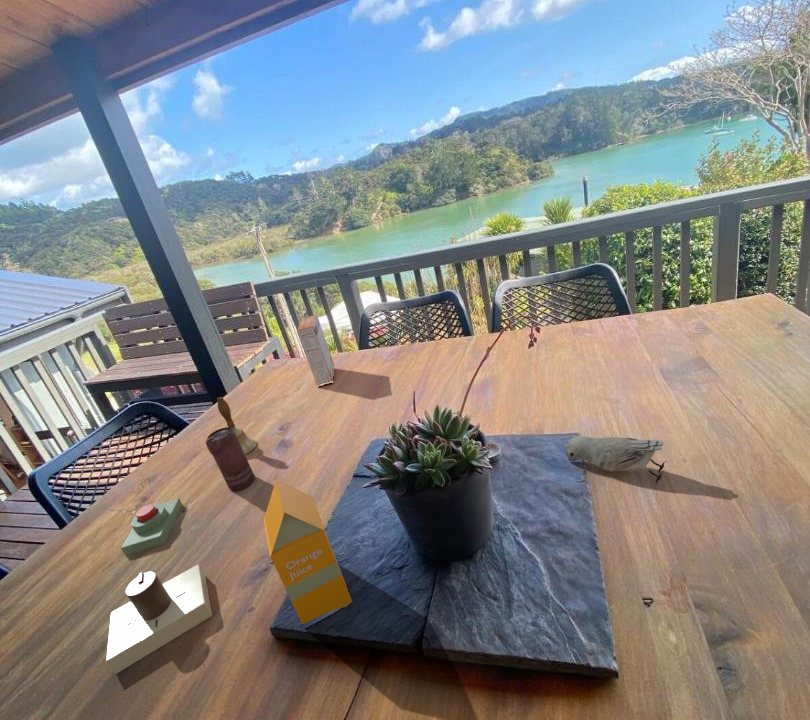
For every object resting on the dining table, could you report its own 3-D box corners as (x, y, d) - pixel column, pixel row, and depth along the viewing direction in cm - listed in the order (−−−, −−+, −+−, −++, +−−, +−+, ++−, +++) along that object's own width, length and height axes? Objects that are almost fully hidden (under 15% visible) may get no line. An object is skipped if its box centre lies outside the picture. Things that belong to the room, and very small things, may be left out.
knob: (171, 609, 68) (154, 583, 66) (141, 626, 67) (123, 600, 64) (170, 590, 72) (155, 564, 70) (142, 605, 70) (125, 580, 68)
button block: (165, 543, 88) (156, 529, 87) (125, 556, 88) (116, 541, 86) (183, 505, 99) (175, 491, 98) (148, 516, 99) (140, 502, 97)
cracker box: (319, 372, 157) (300, 318, 149) (335, 368, 157) (317, 313, 149) (316, 388, 144) (295, 330, 136) (334, 384, 144) (314, 325, 136)
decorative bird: (571, 453, 84) (568, 420, 81) (668, 469, 74) (667, 433, 71) (563, 470, 80) (559, 436, 77) (663, 490, 70) (663, 452, 68)
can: (224, 488, 102) (199, 438, 97) (248, 472, 106) (225, 423, 101) (235, 496, 98) (210, 445, 93) (260, 479, 102) (237, 429, 96)
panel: (115, 674, 63) (104, 660, 62) (119, 624, 72) (110, 611, 71) (212, 616, 69) (204, 602, 68) (205, 575, 77) (198, 563, 76)
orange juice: (304, 630, 63) (254, 526, 55) (294, 586, 70) (249, 489, 63) (354, 603, 65) (312, 498, 57) (339, 563, 73) (300, 466, 65)
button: (153, 519, 91) (150, 513, 90) (136, 524, 90) (132, 518, 90) (160, 508, 94) (156, 502, 93) (143, 513, 94) (139, 507, 93)
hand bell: (235, 442, 122) (213, 392, 116) (262, 438, 120) (240, 388, 114) (220, 460, 114) (195, 408, 109) (248, 457, 113) (224, 404, 107)
